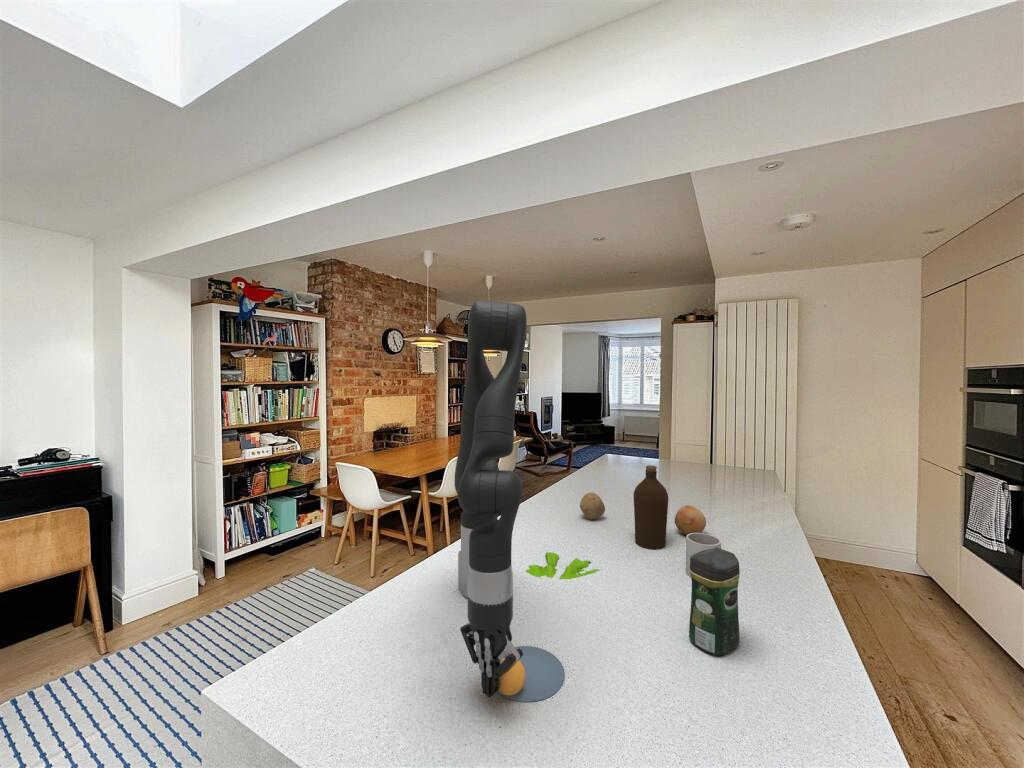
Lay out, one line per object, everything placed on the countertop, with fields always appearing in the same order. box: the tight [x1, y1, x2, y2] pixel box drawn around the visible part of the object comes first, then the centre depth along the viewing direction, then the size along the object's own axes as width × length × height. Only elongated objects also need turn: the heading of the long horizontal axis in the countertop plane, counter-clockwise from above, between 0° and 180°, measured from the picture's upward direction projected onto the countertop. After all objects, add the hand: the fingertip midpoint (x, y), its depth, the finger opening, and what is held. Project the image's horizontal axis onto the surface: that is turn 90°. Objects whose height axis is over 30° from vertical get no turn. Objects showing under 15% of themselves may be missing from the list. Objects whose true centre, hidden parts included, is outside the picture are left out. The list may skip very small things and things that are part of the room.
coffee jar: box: [688, 547, 741, 656], centre depth 85 cm, size 10×8×19 cm
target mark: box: [497, 645, 566, 703], centre depth 76 cm, size 14×14×1 cm
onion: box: [674, 504, 707, 536], centre depth 141 cm, size 10×10×10 cm
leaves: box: [525, 551, 600, 580], centre depth 119 cm, size 20×22×2 cm
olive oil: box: [633, 465, 669, 550], centre depth 134 cm, size 11×11×25 cm
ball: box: [499, 659, 525, 696], centre depth 72 cm, size 6×6×6 cm
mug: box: [685, 532, 722, 579], centre depth 114 cm, size 12×9×10 cm
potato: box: [579, 492, 606, 521], centre depth 156 cm, size 9×9×10 cm
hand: (490, 692), depth 69 cm, fingers closed
